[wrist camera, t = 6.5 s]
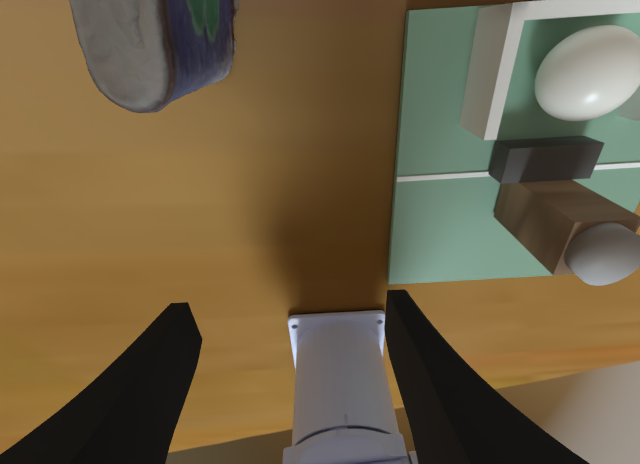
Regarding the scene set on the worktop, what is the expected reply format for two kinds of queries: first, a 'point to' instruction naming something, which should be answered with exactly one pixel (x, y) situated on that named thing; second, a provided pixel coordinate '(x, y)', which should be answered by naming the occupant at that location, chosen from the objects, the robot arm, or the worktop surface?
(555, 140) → the kicker
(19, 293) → the worktop surface
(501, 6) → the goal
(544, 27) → the board
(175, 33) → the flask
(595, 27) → the ball
